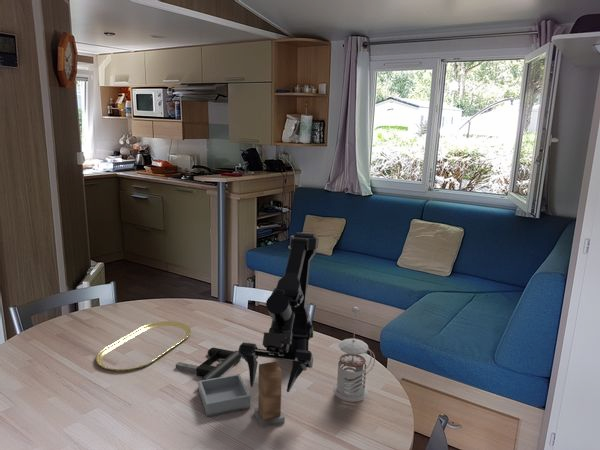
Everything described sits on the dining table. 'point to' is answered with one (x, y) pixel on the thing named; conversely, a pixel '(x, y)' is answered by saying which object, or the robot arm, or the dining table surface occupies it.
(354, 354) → the french press
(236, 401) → the tray
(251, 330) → the dining table surface
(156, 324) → the gold oval ring
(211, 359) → the door handle
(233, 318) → the dining table surface
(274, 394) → the wooden post on base
